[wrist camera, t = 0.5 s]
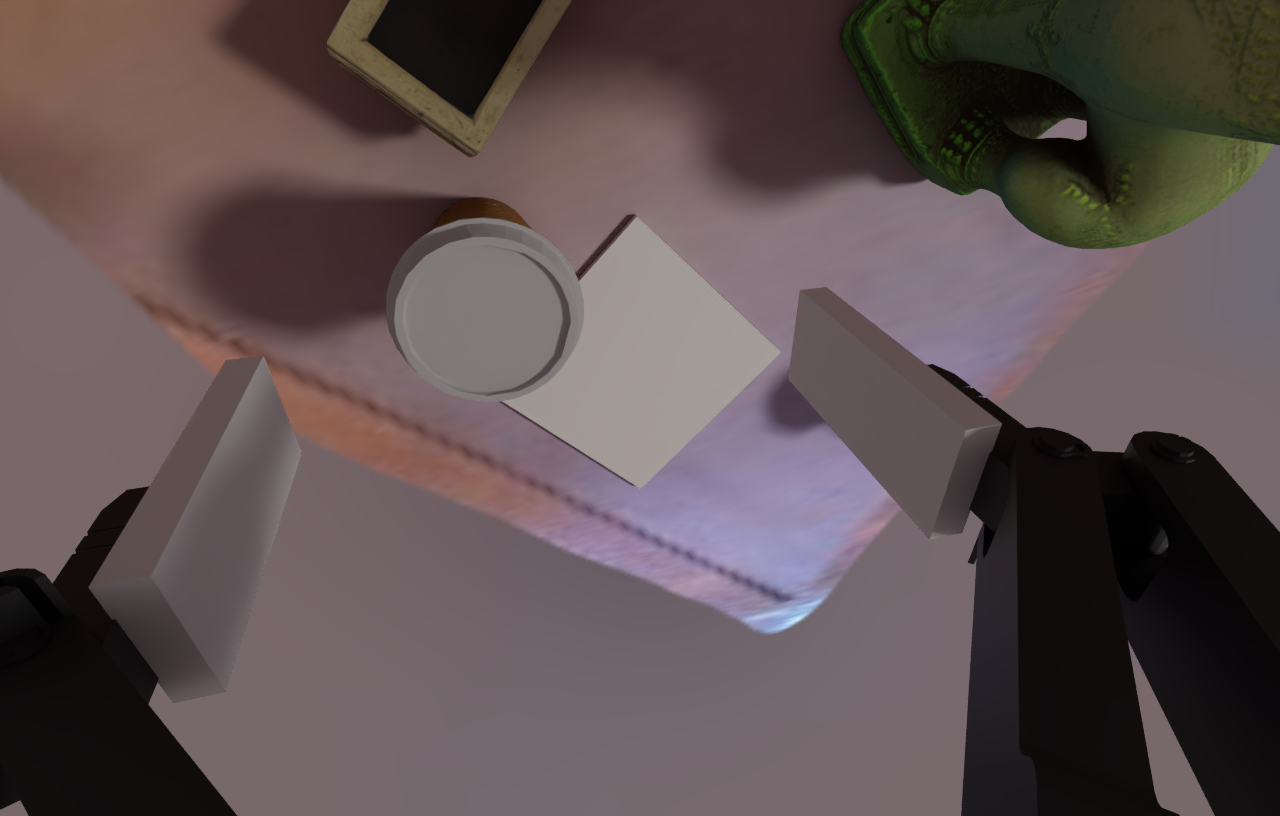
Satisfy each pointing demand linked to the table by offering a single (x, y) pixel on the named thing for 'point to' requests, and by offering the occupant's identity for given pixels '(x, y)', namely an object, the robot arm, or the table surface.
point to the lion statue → (1077, 104)
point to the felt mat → (646, 359)
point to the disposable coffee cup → (484, 304)
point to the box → (445, 57)
